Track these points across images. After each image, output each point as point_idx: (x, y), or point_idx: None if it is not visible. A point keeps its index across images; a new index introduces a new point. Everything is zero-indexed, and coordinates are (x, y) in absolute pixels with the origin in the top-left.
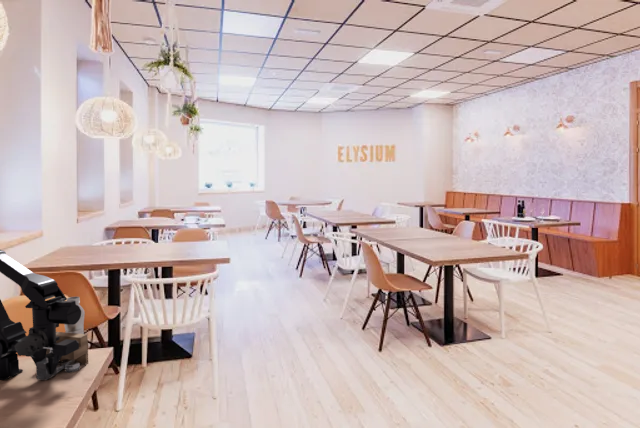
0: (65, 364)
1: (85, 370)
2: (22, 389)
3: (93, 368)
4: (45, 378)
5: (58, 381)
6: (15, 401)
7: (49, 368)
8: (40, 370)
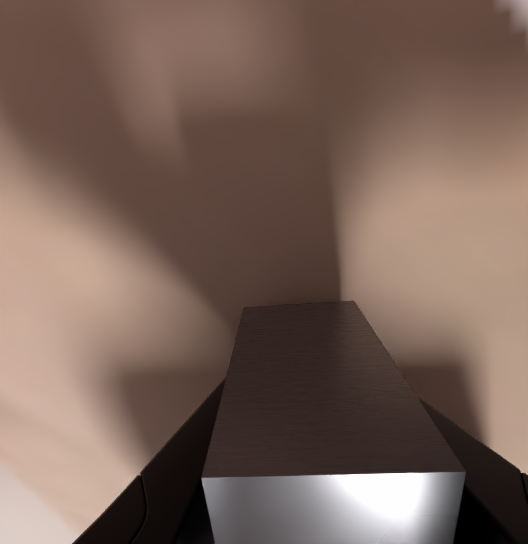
0: None
1: None
2: (348, 107)
3: None
4: (251, 314)
5: (157, 333)
6: None
7: (214, 420)
8: (318, 361)
